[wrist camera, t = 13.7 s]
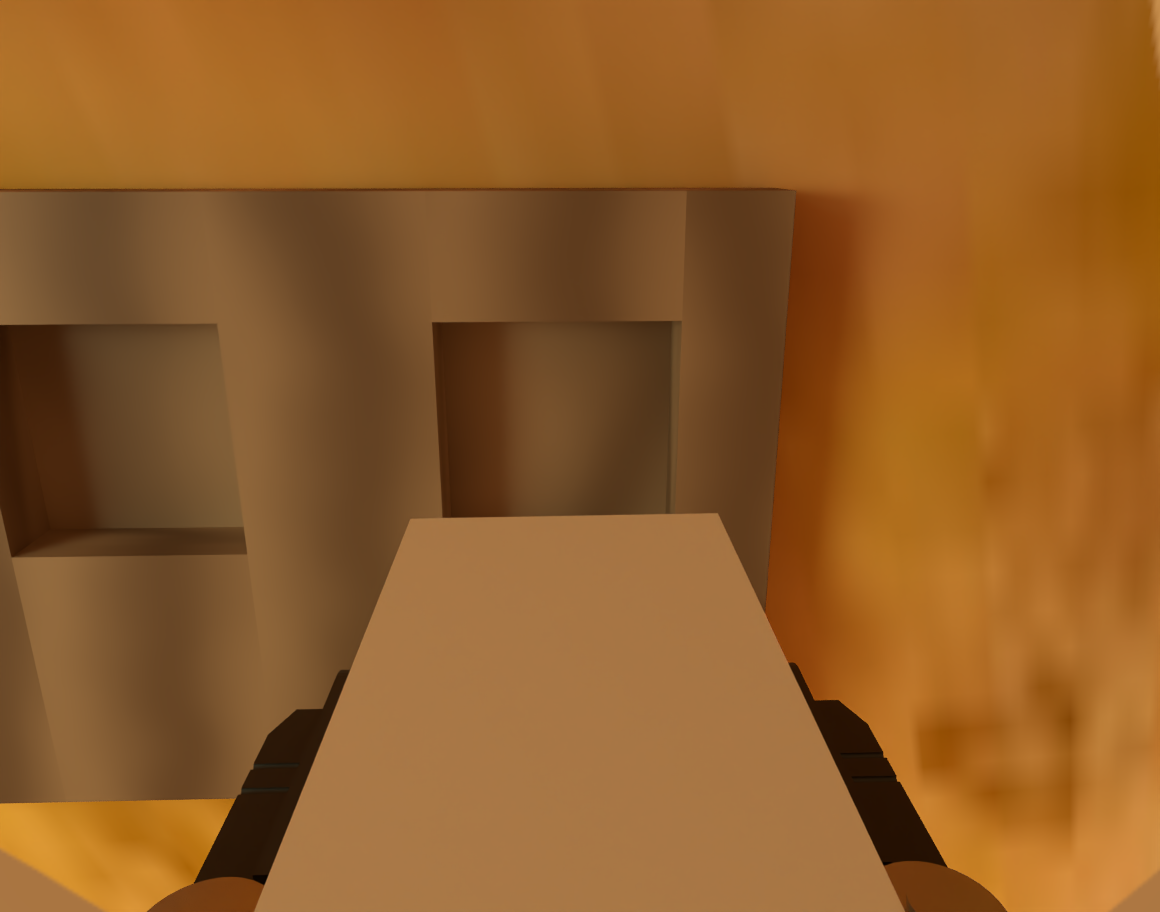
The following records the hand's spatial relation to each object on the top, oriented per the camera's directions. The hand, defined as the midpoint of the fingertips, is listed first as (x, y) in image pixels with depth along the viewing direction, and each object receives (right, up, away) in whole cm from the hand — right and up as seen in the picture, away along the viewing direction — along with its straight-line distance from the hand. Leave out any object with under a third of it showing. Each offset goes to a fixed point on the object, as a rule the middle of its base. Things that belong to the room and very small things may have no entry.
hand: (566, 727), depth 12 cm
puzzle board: (-7, +2, +15) cm, 17 cm away
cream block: (0, +1, +2) cm, 2 cm away
